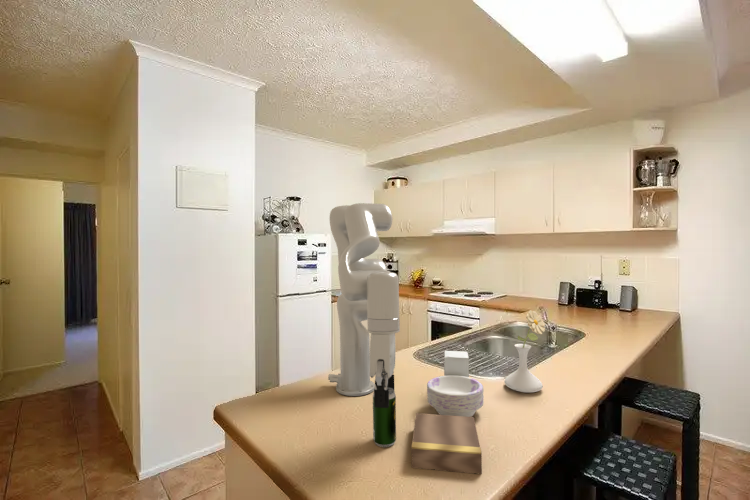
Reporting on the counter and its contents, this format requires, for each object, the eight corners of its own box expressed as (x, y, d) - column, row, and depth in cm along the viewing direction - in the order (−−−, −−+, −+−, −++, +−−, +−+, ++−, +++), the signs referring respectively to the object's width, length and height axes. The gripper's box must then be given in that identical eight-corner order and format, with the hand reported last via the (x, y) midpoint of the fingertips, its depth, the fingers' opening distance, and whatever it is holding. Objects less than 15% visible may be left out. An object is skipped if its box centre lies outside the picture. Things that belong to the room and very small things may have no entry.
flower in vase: (517, 397, 108) (517, 314, 108) (497, 383, 119) (496, 308, 119) (555, 393, 111) (555, 312, 111) (532, 380, 122) (531, 306, 122)
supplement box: (469, 400, 107) (469, 358, 106) (444, 398, 108) (443, 356, 108) (468, 390, 114) (467, 351, 114) (444, 389, 115) (444, 350, 115)
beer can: (376, 449, 81) (375, 396, 81) (371, 437, 87) (370, 387, 86) (398, 446, 82) (398, 394, 82) (392, 434, 88) (392, 385, 88)
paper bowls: (424, 400, 107) (424, 373, 107) (475, 400, 107) (475, 373, 107) (430, 425, 92) (430, 394, 92) (490, 425, 91) (490, 394, 91)
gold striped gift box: (411, 467, 74) (411, 446, 74) (416, 429, 90) (416, 412, 90) (481, 474, 72) (481, 452, 72) (473, 433, 88) (473, 415, 88)
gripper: (374, 318, 93) (375, 384, 93) (360, 332, 76) (361, 413, 76) (403, 318, 92) (404, 386, 92) (395, 332, 75) (396, 415, 75)
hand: (385, 398), depth 84 cm, fingers open, 9 cm apart
